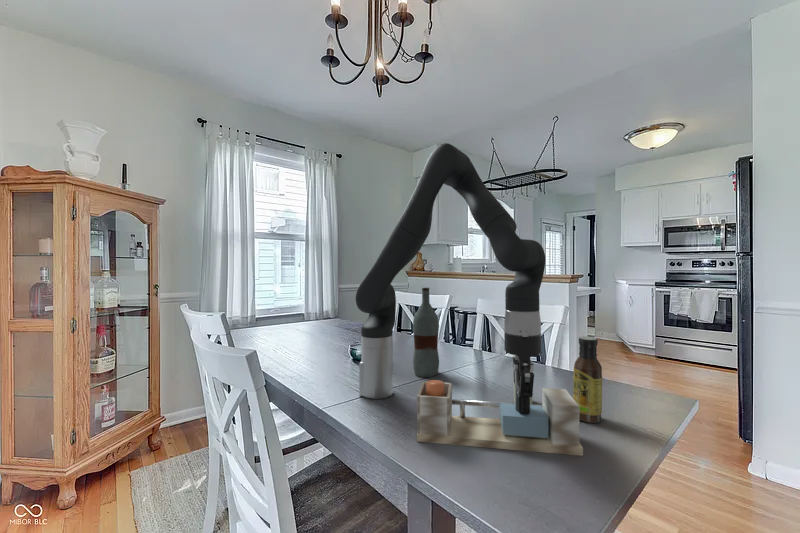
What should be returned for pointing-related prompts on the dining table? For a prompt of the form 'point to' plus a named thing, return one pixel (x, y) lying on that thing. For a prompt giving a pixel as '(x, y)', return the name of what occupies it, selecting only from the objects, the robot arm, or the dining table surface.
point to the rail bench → (499, 425)
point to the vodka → (425, 339)
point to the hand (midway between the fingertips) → (522, 409)
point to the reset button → (435, 388)
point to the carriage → (523, 420)
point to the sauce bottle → (588, 381)
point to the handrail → (476, 404)
